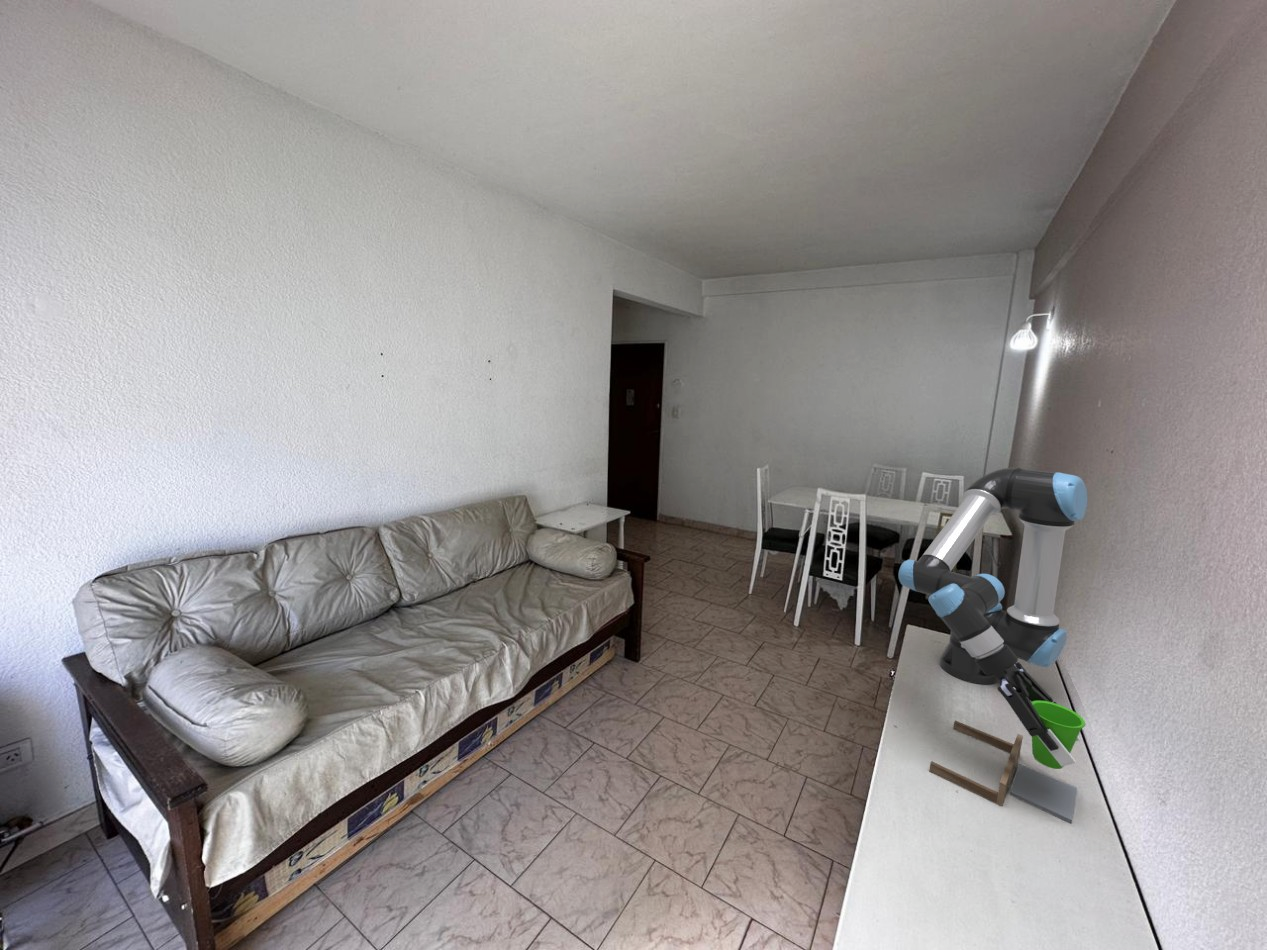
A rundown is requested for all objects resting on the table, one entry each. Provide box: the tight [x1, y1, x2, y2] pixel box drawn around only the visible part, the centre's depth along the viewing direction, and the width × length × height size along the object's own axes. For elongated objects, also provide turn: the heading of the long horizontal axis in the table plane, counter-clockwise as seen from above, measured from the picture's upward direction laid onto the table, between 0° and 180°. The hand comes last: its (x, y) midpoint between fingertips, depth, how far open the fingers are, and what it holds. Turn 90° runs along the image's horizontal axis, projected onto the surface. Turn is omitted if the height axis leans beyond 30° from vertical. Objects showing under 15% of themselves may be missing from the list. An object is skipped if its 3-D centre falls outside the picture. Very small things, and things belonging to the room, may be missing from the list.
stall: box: [929, 720, 1024, 807], centre depth 115 cm, size 22×14×5 cm, turn 135°
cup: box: [1031, 700, 1086, 770], centre depth 105 cm, size 9×9×11 cm
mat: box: [1009, 763, 1078, 824], centre depth 107 cm, size 12×10×1 cm
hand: (1070, 752), depth 103 cm, fingers closed on cup, 9 cm apart
